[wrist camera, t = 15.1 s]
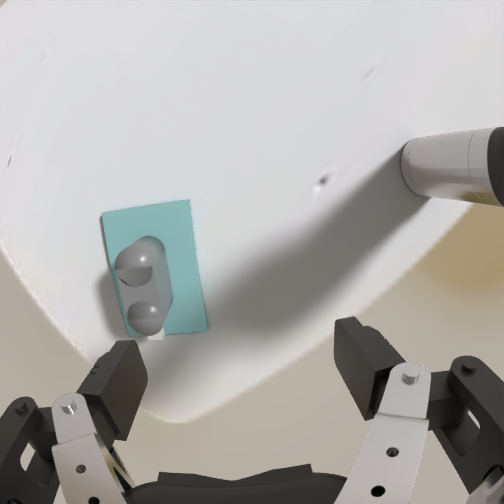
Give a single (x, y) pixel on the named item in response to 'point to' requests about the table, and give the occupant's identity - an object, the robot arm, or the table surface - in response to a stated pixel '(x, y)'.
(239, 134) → the table surface
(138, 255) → the plug block
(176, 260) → the mat
